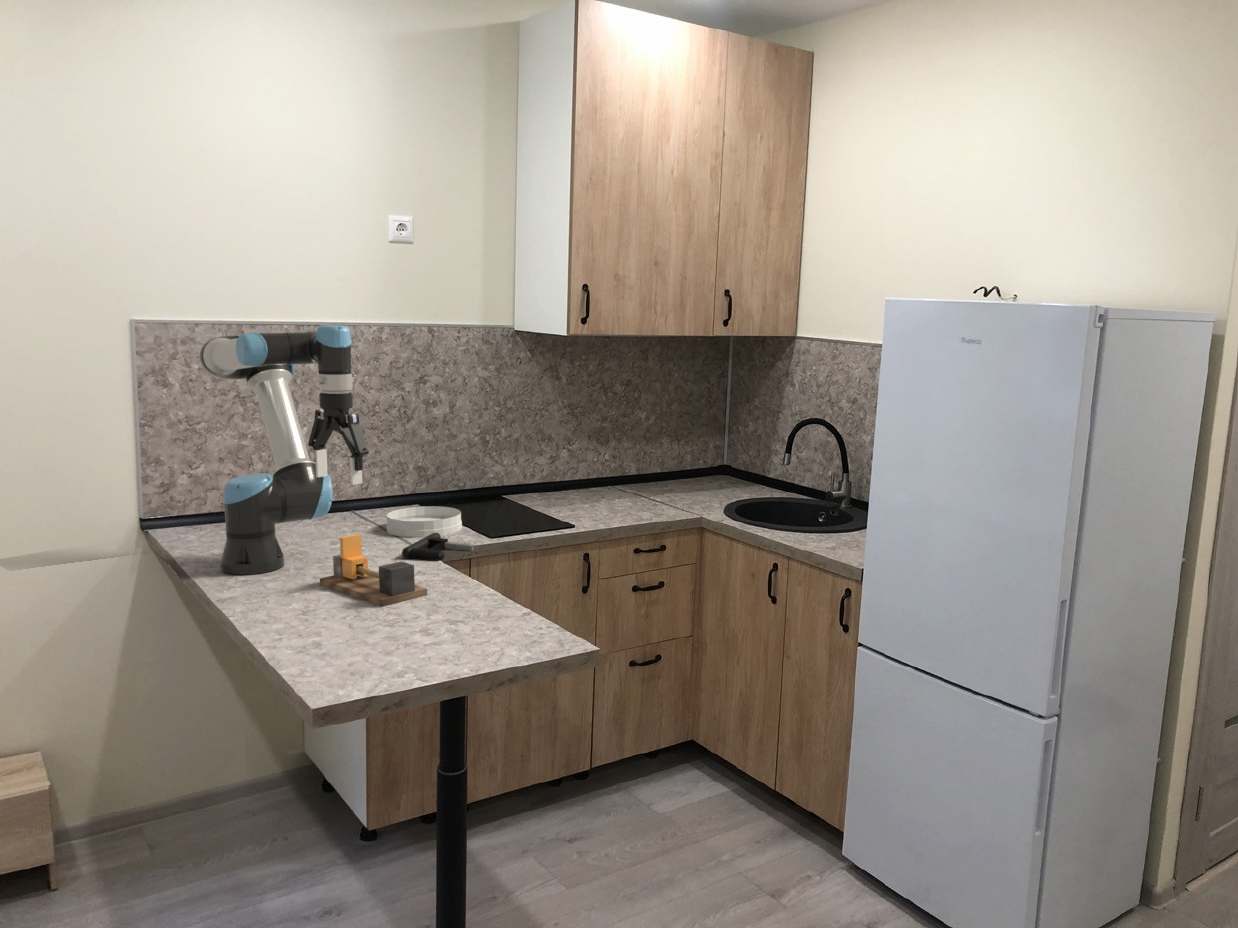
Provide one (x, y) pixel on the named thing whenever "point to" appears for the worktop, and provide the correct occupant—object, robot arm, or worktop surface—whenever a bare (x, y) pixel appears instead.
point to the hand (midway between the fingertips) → (339, 480)
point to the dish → (423, 521)
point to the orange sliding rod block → (352, 556)
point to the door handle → (433, 548)
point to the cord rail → (376, 583)
